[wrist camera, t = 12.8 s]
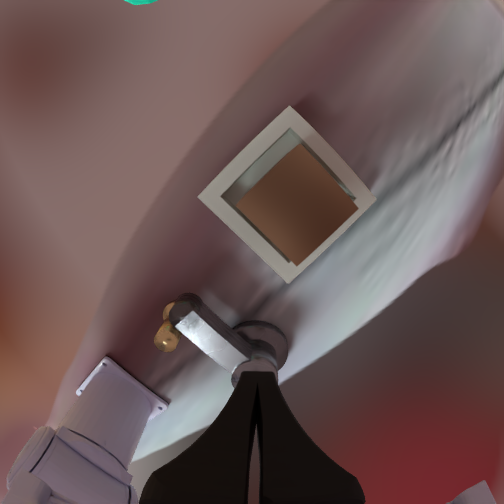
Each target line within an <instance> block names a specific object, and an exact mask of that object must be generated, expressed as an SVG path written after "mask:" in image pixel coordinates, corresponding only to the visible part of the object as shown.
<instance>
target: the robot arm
mask: <svg viewBox="0 0 504 504" xmlns="http://www.w3.org/2000/svg"><path fill="white" fill-rule="evenodd" d="M76 394H77V395H78V396H79V397H78V399H77V400H76V401H75V403H74V404H73V406H72V407H71V408H70V410H69V411H68V413H67V414H66V416H65V417H64V419H63V420H62V422H61V423H60V425H59V426H58V427H57V429H55V430H53V429H52V428H51V427H50V426H47V427H44V426H42V427H40V428H39V429H38V430H37V431H36V432H35V433H34V434H33V435H32V437H31V438H30V439H29V440H28V442H27V443H26V445H25V446H24V447H23V449H22V450H21V452H20V453H19V455H18V456H17V458H16V460H15V462H14V464H13V466H12V468H11V469H10V471H9V473H8V475H7V488H8V492H7V494H6V496H5V497H4V499H3V501H2V504H138V497H137V492H136V490H135V488H134V487H133V486H132V485H130V483H131V480H132V477H133V476H132V475H131V474H129V473H128V472H127V470H128V467H129V465H130V462H131V460H132V458H133V455H134V453H135V450H136V448H137V445H138V443H139V440H140V438H141V435H142V433H143V431H144V428H145V426H146V423H147V422H148V421H150V420H151V419H153V418H154V417H156V416H157V415H159V414H160V413H162V412H163V411H165V410H166V409H167V408H168V403H166V402H165V401H164V400H162V399H161V398H159V397H158V396H157V395H155V394H154V393H153V392H151V391H150V390H149V389H147V388H146V387H145V386H143V385H142V384H141V383H140V382H138V381H137V380H136V379H134V378H133V377H132V376H131V375H129V374H128V373H127V372H126V371H125V370H123V369H122V368H121V367H120V366H119V365H117V364H116V363H115V362H114V361H113V360H112V359H110V358H109V357H104V358H103V359H102V361H101V362H100V363H99V364H98V365H97V366H96V368H95V369H94V370H93V371H92V372H91V374H90V375H89V376H88V377H87V379H86V380H85V381H84V382H83V383H82V385H81V386H80V387H79V388H78V389H77V391H76ZM256 424H257V437H258V449H259V461H260V484H259V504H364V503H365V496H364V493H363V490H362V488H361V486H360V484H359V482H358V480H357V478H356V477H355V476H353V475H352V474H350V473H349V472H347V471H346V470H344V469H343V468H342V467H340V466H339V465H338V464H337V463H335V462H334V461H333V460H332V459H330V458H329V457H328V456H327V455H326V454H325V453H324V452H323V451H322V450H321V449H320V448H319V447H318V446H317V445H316V444H315V443H314V442H313V441H312V439H311V438H310V437H309V436H308V435H307V433H306V432H305V431H304V430H303V428H302V427H301V426H300V424H299V423H298V421H297V420H296V418H295V417H294V415H293V414H292V412H291V410H290V409H289V407H288V405H287V403H286V401H285V399H284V397H283V396H282V393H281V391H280V388H279V386H278V383H277V380H276V377H275V373H274V372H272V371H243V372H241V375H240V378H239V381H238V383H237V385H236V387H235V389H234V391H233V393H232V395H231V397H230V398H229V400H228V402H227V403H226V405H225V407H224V408H223V409H222V411H221V412H220V414H219V415H218V417H217V418H216V419H215V420H214V422H213V423H212V424H211V425H210V427H209V428H208V429H207V430H206V431H205V432H204V433H203V434H202V435H201V436H200V437H199V438H198V439H197V440H196V441H195V442H194V443H193V444H192V445H191V446H190V447H189V448H187V449H186V450H185V451H184V452H182V453H181V454H180V455H178V456H177V457H176V458H175V459H173V460H172V461H170V462H169V463H167V464H165V465H164V466H162V467H161V468H159V469H157V470H156V471H154V472H153V473H152V474H151V476H150V477H149V479H148V481H147V482H146V484H145V486H144V488H143V491H142V494H141V497H140V500H139V504H248V488H249V469H250V461H251V454H252V448H253V442H254V435H255V428H256ZM447 504H496V502H495V500H494V498H493V496H492V494H491V492H490V490H489V488H488V486H487V484H486V482H485V481H482V482H480V483H478V484H476V485H474V486H472V487H471V488H469V489H467V490H465V491H464V492H462V493H461V494H459V495H458V496H457V497H456V498H455V499H454V500H453V501H451V502H449V503H447Z"/></svg>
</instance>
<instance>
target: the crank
mask: <svg viewBox="0 0 504 504" xmlns="http://www.w3.org/2000/svg"><path fill="white" fill-rule="evenodd" d="M169 321H170V323H171V325H172V326H173V327H174V328H175V329H177V330H179V331H181V332H182V333H183V334H184V335H185V336H186V337H187V338H188V339H190V340H191V341H192V342H193V343H194V344H195V345H197V346H198V347H199V348H200V349H201V350H202V351H204V352H205V353H206V354H207V355H208V356H210V357H211V358H212V359H213V360H215V361H216V362H217V363H218V364H219V365H221V366H222V367H223V368H224V369H226V370H227V371H228V372H230V373H231V374H232V378H231V382H232V385H233V387H234V388H235V387H236V385H237V383H238V381H239V378H240V375H241V372H243V371H272V372H274V373H275V377H276V380H277V383H278V369H277V355H276V351H275V349H274V347H273V346H272V345H271V344H269V343H268V342H265V341H263V340H248V341H245V340H244V339H243V338H242V337H241V336H239V335H238V334H237V333H236V332H235V331H234V330H233V329H232V328H230V327H229V326H228V325H227V324H226V323H225V322H224V321H223V320H222V319H220V318H219V317H218V316H217V315H216V314H215V313H214V312H213V311H212V310H211V309H210V308H208V307H207V306H206V305H205V304H204V303H203V301H202V300H201V298H200V297H199V296H197V295H195V294H193V293H184V294H182V295H180V296H179V297H178V299H177V300H176V302H175V303H174V305H173V306H172V308H171V310H170V311H169Z"/></svg>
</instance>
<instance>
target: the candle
mask: <svg viewBox="0 0 504 504" xmlns="http://www.w3.org/2000/svg"><path fill="white" fill-rule="evenodd" d="M125 1H127V2H129V3H131V4H133V5H139V4H149V3H152V2H155V1H157V0H125Z"/></svg>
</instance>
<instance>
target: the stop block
mask: <svg viewBox="0 0 504 504" xmlns="http://www.w3.org/2000/svg"><path fill="white" fill-rule="evenodd" d="M235 206H236V207H238V208H239V209H240V210H241V211H242V212H243V213H244V214H245V215H246V216H247V217H248V218H249V219H250V220H251V221H252V222H253V223H254V224H255V225H256V226H257V227H258V228H259V229H260V230H261V231H262V232H263V233H264V234H265V235H266V236H267V237H268V238H269V239H270V240H271V241H272V242H273V243H274V244H275V245H276V246H277V247H278V248H279V249H280V250H281V251H282V252H283V253H284V254H285V255H286V256H287V257H288V258H289V259H290V260H291V261H292V262H293V263H294V264H295V266H296V267H297V266H298V265H299V264H300V263H302V262H303V261H304V260H305V259H306V258H307V257H308V256H309V255H310V254H311V253H312V252H314V251H315V250H316V249H317V248H318V247H319V246H320V245H321V244H322V243H323V242H324V241H325V240H326V239H328V238H329V237H330V236H331V235H332V234H333V233H334V232H335V231H336V230H337V229H338V228H339V227H340V226H341V225H342V224H343V223H344V222H345V221H347V220H348V219H349V218H350V217H351V216H352V215H353V214H354V213H355V212H356V211H357V210H358V209H359V208H358V207H357V206H356V204H355V203H354V202H353V201H352V200H351V198H350V197H349V196H348V195H347V194H346V193H345V191H344V190H343V189H342V188H341V187H340V186H339V185H338V183H337V182H336V181H335V180H334V179H333V178H332V177H331V176H330V174H329V173H328V172H327V171H326V170H325V169H324V168H323V167H322V166H321V165H320V164H319V162H318V161H317V160H316V159H315V158H314V157H313V156H312V155H311V154H310V153H309V152H308V151H307V150H306V149H305V148H304V147H303V146H302V145H301V144H298V145H297V146H296V147H295V148H293V149H292V150H291V151H290V152H288V153H287V154H286V155H285V156H284V157H283V158H282V159H281V160H280V161H279V162H278V163H277V164H276V165H275V166H273V167H272V168H271V169H270V170H269V171H268V172H267V173H266V174H265V175H264V176H263V177H262V178H261V179H260V180H259V181H258V182H257V183H256V184H255V185H254V186H253V187H252V188H251V189H250V190H249V191H248V192H247V193H246V194H245V195H244V196H243V197H242V198H241V199H240V201H239V202H238V203H237V204H236V205H235Z"/></svg>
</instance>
